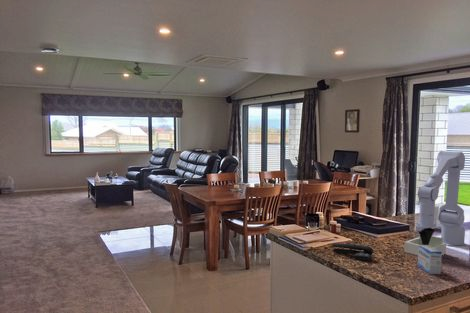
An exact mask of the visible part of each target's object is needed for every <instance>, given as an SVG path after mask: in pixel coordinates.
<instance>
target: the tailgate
mask: <svg viewBox="0 0 470 313" xmlns="http://www.w3.org/2000/svg"><path fill="white" fill-rule="evenodd" d="M419 238H420V240H419V244H420V245H422V241H421V237H420V236H419ZM441 244H443V238H441V236H440V237H439V236H434V235H432V236H431V239H430V242H429V246H431V247H436V246H438V245H441Z"/></svg>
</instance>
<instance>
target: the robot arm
mask: <svg viewBox="0 0 470 313" xmlns="http://www.w3.org/2000/svg"><path fill="white" fill-rule="evenodd" d="M436 161H437V165H436V168H435V170H434V172H433V173H432V174H430V175H429V176H428V178H427V180H426V181H425V183H424V184H423V185H422V186H420V187H419V188H418V190H417V198H418V203H419V205H420V208H419V215H418V218H419V221H417V222H416V223H415V224H416V225H415V231H417V232H418V234H419V238H420V237H421V241H422V245H429V242H430V239H431V236H433V234H434V233H435V231H436V229H432V228H433V227H435V228H436V227H437V221H436V222H434V213H435V204H436V201H437V199H438V198H439V193H440V188H441V186H442V184H443V182H444V178H443V177H444V175H445V174H446V173H447V179H446V180H447V181H446V182H447V183H446V191H445V192H446V193H445V203H444V204H443V205H441V206H439V210H438V215H437V219H438V221H439V223H440V224H441V228H440V229H441V230H440V232H441V233H440V238H443V244H446V246H448V247H452V246H454V247H455V246H466V245H467V244H466V243H465V238H466V237H465V236H466V230H465V228H464V226H463V224H464V223H465V212H464V211H465V210H464V209H463V208H462V207H461V206H460V205H459V204H458V202H459V190H460V179H461V178H460V177H461V171H462V170H463V171H464V170H465V166H466V165H465V162H466V156H465V154H464V153H463V151H444V150H440V151H439V152H438V154H437V160H436Z"/></svg>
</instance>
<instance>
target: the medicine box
mask: <svg viewBox="0 0 470 313" xmlns="http://www.w3.org/2000/svg"><path fill="white" fill-rule="evenodd" d="M442 257H443V256H442V252H441V251H439V250H437V249H435V248H433V247H431V246H429V245H419V251H418V256H417V268H419V269H421V270H422V271H424V272H426V273H427V274H428V275H441V270H442Z"/></svg>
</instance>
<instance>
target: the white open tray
mask: <svg viewBox="0 0 470 313" xmlns="http://www.w3.org/2000/svg"><path fill="white" fill-rule="evenodd" d="M419 240H420V236H419V237H416V238H412V239H410V240H406V241H404V253H406V254H407V253H408V254H410V255H414V256H417V257H418V251H419V245H420V244H419ZM433 248H435V249H437V250H439V251H441V252H442V255H443V256H444V254H445V255H447V254H446V253H447V245H446V244H441V245H438V246H436V247H433Z"/></svg>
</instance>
